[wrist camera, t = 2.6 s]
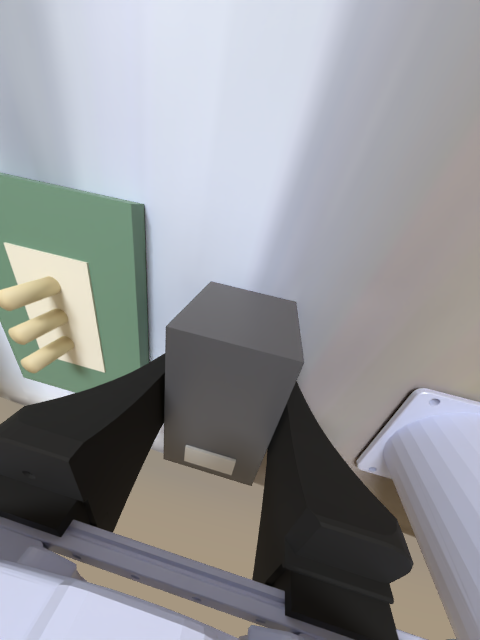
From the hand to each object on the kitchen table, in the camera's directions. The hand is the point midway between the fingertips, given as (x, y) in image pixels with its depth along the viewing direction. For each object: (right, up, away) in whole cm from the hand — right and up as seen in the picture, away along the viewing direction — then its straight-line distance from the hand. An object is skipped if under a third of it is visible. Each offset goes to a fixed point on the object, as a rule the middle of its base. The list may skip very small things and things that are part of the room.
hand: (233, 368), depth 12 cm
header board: (-10, +3, +2) cm, 11 cm away
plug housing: (0, +1, +1) cm, 2 cm away
